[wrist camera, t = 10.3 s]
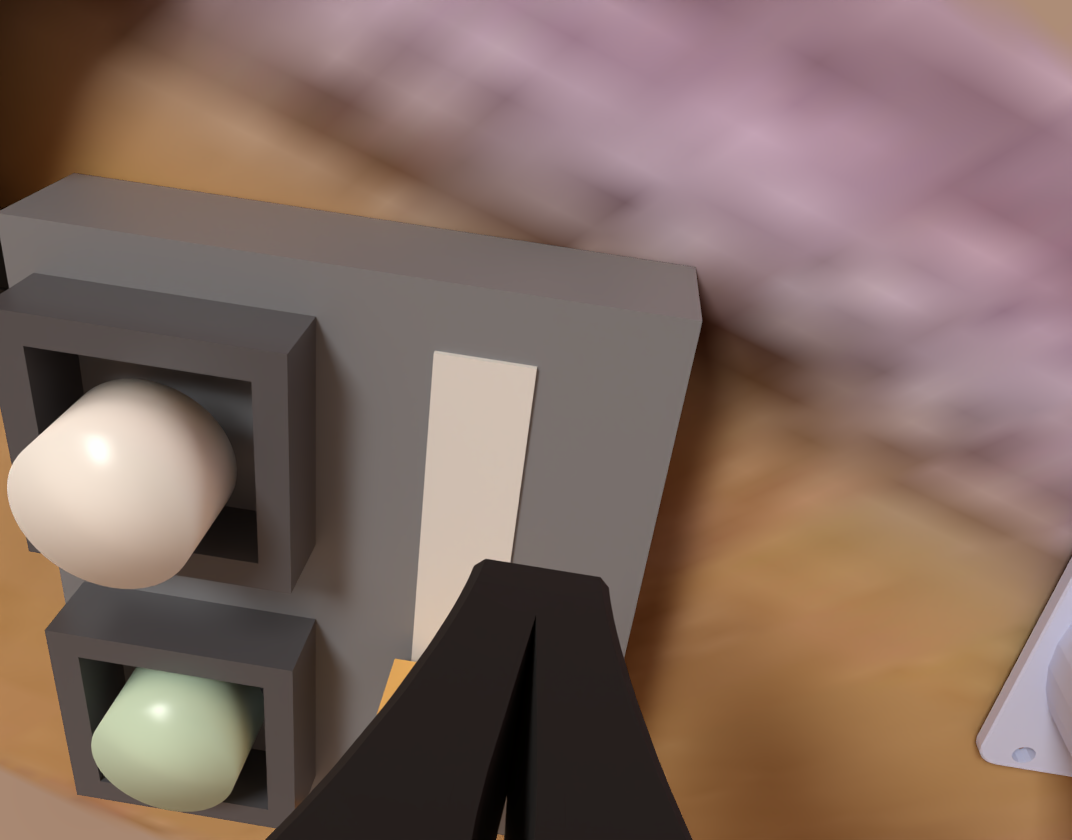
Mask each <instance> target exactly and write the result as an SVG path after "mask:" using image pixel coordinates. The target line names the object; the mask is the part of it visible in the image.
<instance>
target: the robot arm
mask: <svg viewBox="0 0 1072 840" xmlns="http://www.w3.org/2000/svg"><path fill="white" fill-rule="evenodd" d="M976 744H977V747H978V749H979V752H980V755H981V757H982V758H983V759H984V760H985V761H987V762H990V763H993V764H997V765H1003V766H1009V767H1015V768H1021V769H1028V770H1034V771H1040V772H1046V773H1052V774H1058V775H1064V776H1070V777H1072V557H1071V559H1070V561H1069V563H1068V565H1067V567H1066V569H1065V571H1064V573H1063V575H1062V576H1061V578H1060V580H1059V582H1058V584H1057V586H1056V588H1055V590H1054V592H1053V593H1052V595H1051V597H1050V599H1049V601H1048V603H1047V605H1046V607H1045V609H1044V610H1043V612H1042V614H1041V616H1040V618H1039V620H1038V622H1037V624H1036V626H1035V628H1034V629H1033V631H1032V633H1031V635H1030V637H1029V639H1028V641H1027V643H1026V645H1025V646H1024V648H1023V650H1022V652H1021V654H1020V656H1019V658H1018V660H1017V662H1016V664H1015V665H1014V667H1013V669H1012V671H1011V673H1010V675H1009V677H1008V679H1007V681H1006V682H1005V684H1004V686H1003V688H1002V690H1001V692H1000V694H999V696H998V698H997V700H996V701H995V703H994V705H993V707H992V709H991V711H990V713H989V715H988V717H987V718H986V720H985V722H984V724H983V726H982V728H981V730H980V732H979V734H978V735H977V739H976ZM1022 747H1024V748H1022ZM1019 748H1022V749H1019ZM506 798H507V802H506ZM505 802H506V818H505V835H504V840H692V838H691V835H690V833H689V831H688V829H687V826H686V824H685V822H684V819H683V817H682V815H681V812H680V810H679V808H678V806H677V803H676V801H675V799H674V796H673V794H672V792H671V789H670V787H669V784H668V782H667V780H666V777H665V775H664V772H663V770H662V767H661V765H660V762H659V760H658V757H657V754H656V752H655V749H654V746H653V743H652V741H651V738H650V735H649V732H648V730H647V727H646V724H645V721H644V719H643V716H642V713H641V710H640V708H639V705H638V702H637V699H636V696H635V693H634V690H633V687H632V684H631V680H630V677H629V674H628V670H627V667H626V663H625V660H624V657H623V653H622V650H621V646H620V642H619V638H618V634H617V630H616V626H615V621H614V617H613V611H612V606H611V600H610V592H609V587H608V586H607V585H606V583H605V582H604V581H603V580H602V578H601V577H597V576H590V575H584V574H578V573H572V572H565V571H559V570H553V569H547V568H541V567H534V566H528V565H522V564H516V563H510V562H503V561H497V560H491V559H484V560H483V561H481V562H479V563H477V564H476V565H474V567H473V569H472V571H471V574H470V576H469V578H468V580H467V582H466V584H465V586H464V588H463V590H462V592H461V594H460V596H459V597H458V599H457V601H456V603H455V604H454V606H453V608H452V609H451V611H450V613H449V614H448V616H447V618H446V619H445V621H444V622H443V624H442V625H441V627H440V628H439V630H438V632H437V633H436V635H435V636H434V638H433V639H432V641H431V642H430V644H429V645H428V647H427V648H426V650H425V651H424V652H423V654H422V655H421V656H420V658H419V659H418V661H417V662H416V663H415V665H414V666H413V667H412V669H411V670H410V672H409V673H408V674H407V676H406V677H405V678H404V680H403V681H402V683H401V684H400V685H399V687H398V688H397V689H396V691H395V692H394V694H393V695H392V696H391V698H390V699H389V700H388V701H387V703H386V704H385V705H384V707H383V708H382V709H381V710H380V712H379V713H378V714H377V715H376V716H375V718H374V719H373V720H372V721H371V722H370V724H369V725H368V726H367V727H366V728H365V730H364V731H363V732H362V733H361V734H360V736H359V737H358V738H357V739H356V740H355V742H354V743H353V744H352V745H351V746H350V748H349V749H348V750H347V751H346V752H345V754H344V755H343V756H342V757H341V758H340V760H339V761H338V762H337V763H336V764H335V766H334V767H333V768H332V769H331V770H330V771H329V772H328V774H327V775H326V776H325V777H324V778H323V779H322V780H321V781H320V782H319V784H318V785H317V786H316V787H315V788H314V789H313V790H312V791H311V792H310V794H309V795H308V796H307V797H306V798H305V799H304V800H303V801H302V802H301V803H300V804H299V805H298V806H297V808H296V809H295V810H294V811H293V812H292V813H291V814H290V815H289V816H288V817H287V818H286V819H285V820H284V821H283V822H282V823H281V824H280V825H279V826H278V827H277V828H276V829H275V830H274V831H273V832H272V833H271V834H270V835H269V836H268V837H267V838H266V840H496V838H497V834H498V830H499V826H500V822H501V818H502V814H503V810H504V806H505Z"/></svg>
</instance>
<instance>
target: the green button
mask: <svg viewBox="0 0 1072 840" xmlns="http://www.w3.org/2000/svg"><path fill="white" fill-rule="evenodd" d="M264 719H265V716H264V696H263V694H262V692H261V690H260V688H259V687H255V686H249V685H243V684H237V683H231V682H225V681H219V680H213V679H207V678H201V677H195V676H189V675H183V674H177V673H171V672H165V671H158V670H152V669H146V668H140V667H136V668H135V670H134V671H133V673H132V675H131V676H130V678H129V679H128V681H127V682H126V684H125V685H124V687H123V688H122V690H121V691H120V693H119V695H118V696H117V698H116V699H115V701H114V702H113V704H112V705H111V707H110V708H109V710H108V712H107V713H106V715H105V716H104V718H103V719H102V721H101V722H100V724H99V725H98V727H97V729H96V730H95V732H94V734H93V737H92V742H91V749H92V754H93V758H94V760H95V762H96V764H97V766H98V768H99V769H100V771H101V772H102V773H103V775H104V776H105V777H106V778H107V779H108V780H109V781H110V782H111V783H112V784H113V785H114V786H116V787H117V788H118V789H119V790H121V791H122V792H124V793H125V794H127V795H129V796H130V797H132V798H134V799H136V800H138V801H140V802H142V803H145V804H148V805H150V806H153V807H157V808H160V809H165V810H170V811H178V812H194V811H201V810H205V809H209V808H212V807H214V806H216V805H218V804H220V803H221V802H223V801H224V800H225V799H226V798H227V797H228V796H229V795H230V793H231V791H232V789H233V787H234V785H235V783H236V781H237V778H238V776H239V774H240V772H241V770H242V768H243V765H244V763H245V761H246V759H247V757H248V754H249V752H250V750H251V748H252V746H253V743H254V741H255V739H256V737H257V735H258V732H259V730H260V728H261V726H262V724H263V721H264Z"/></svg>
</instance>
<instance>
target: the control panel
mask: <svg viewBox="0 0 1072 840" xmlns="http://www.w3.org/2000/svg"><path fill="white" fill-rule="evenodd" d="M0 240H1V246H2V251H3V257H4V262H5V268H6V274H7V279H8V285H9V289H7V290H6V291H4V292H3V293H1V294H0V407H1V412H2V417H3V422H4V428H5V433H6V438H7V443H8V448H9V453H10V458H11V463H12V464H13V462H14V461H15V459H16V458H17V456H18V455H19V454H20V453H21V452H22V451H23V450H24V449H25V448H26V447H27V446H28V445H29V444H30V443H31V442H33V441H34V440H35V439H36V438H37V437H38V436H39V435H40V434H41V433H42V432H43V431H45V430H46V429H47V428H48V427H49V426H50V425H51V424H52V423H53V422H54V421H56V420H57V419H58V418H59V417H60V416H61V415H62V414H63V413H64V412H65V411H66V410H68V409H69V408H70V407H71V406H72V405H73V404H74V403H75V402H76V401H77V400H79V399H80V398H81V397H82V396H83V395H84V394H85V393H86V392H88V391H89V390H91V389H92V388H93V387H95V386H98V385H100V384H102V383H105V382H108V381H111V380H118V379H143V380H149V381H153V382H157V383H160V384H163V385H166V386H169V387H171V388H174V389H176V390H178V391H180V392H182V393H183V394H185V395H187V396H189V397H190V398H192V399H193V400H194V401H196V402H197V403H199V404H200V405H201V406H202V407H203V408H204V409H206V410H207V411H208V412H209V413H210V414H211V415H212V416H213V417H214V419H215V420H216V421H217V422H218V423H219V425H220V426H221V427H222V429H223V430H224V432H225V434H226V435H227V437H228V439H229V441H230V443H231V446H232V448H233V451H234V455H235V459H236V466H237V478H236V483H235V487H234V490H233V492H232V495H231V496H230V498H229V500H228V501H227V503H226V504H225V506H224V507H223V509H222V510H221V512H220V513H219V515H218V516H217V518H216V519H215V521H214V522H213V524H212V525H211V527H210V528H209V530H208V531H207V533H206V534H205V535H204V537H203V538H202V540H201V541H200V543H199V544H198V546H197V547H196V549H195V550H194V552H193V553H192V555H191V556H190V558H189V559H188V561H187V562H186V564H185V565H184V566H183V567H182V569H181V570H180V571H179V572H178V573H177V574H175V575H174V576H173V577H172V578H170V579H168V580H166V581H165V582H162V583H160V584H157V585H155V586H150V587H146V588H139V589H119V588H111V587H106V586H101V585H98V584H94V583H91V582H88V581H86V580H83V579H81V578H78V577H76V576H74V575H72V574H70V573H68V572H66V571H65V570H63V569H62V568H60V567H59V569H60V574H61V580H62V586H63V591H64V597H65V602H66V604H65V606H64V607H63V608H62V609H61V611H60V612H59V613H58V614H57V616H56V617H55V618H54V619H53V621H52V622H51V623H50V624H49V626H48V627H47V628H46V629H45V634H46V639H47V644H48V649H49V654H50V659H51V664H52V669H53V674H54V680H55V685H56V690H57V695H58V700H59V705H60V710H61V715H62V720H63V725H64V730H65V735H66V740H67V745H68V750H69V755H70V760H71V765H72V770H73V775H74V780H75V785H76V790H77V795H83V796H89V797H95V798H101V799H106V800H112V801H118V802H124V803H130V804H136V805H142V806H148V807H153V806H150V805H148V804H145V803H142V802H140V801H138V800H136V799H134V798H132V797H130V796H129V795H127V794H125V793H124V792H122V791H121V790H119V789H118V788H117V787H116V786H114V785H113V784H112V783H111V782H110V781H109V780H108V779H107V778H106V777H105V776H104V775H103V773H102V772H101V771H100V769H99V768H98V766H97V764H96V762H95V760H94V758H93V754H92V749H91V742H92V737H93V734H94V732H95V730H96V729H97V727H98V725H99V724H100V722H101V721H102V719H103V718H104V716H105V715H106V713H107V712H108V710H109V708H110V707H111V705H112V704H113V702H114V701H115V699H116V698H117V696H118V695H119V693H120V691H121V690H122V688H123V687H124V685H125V684H126V682H127V681H128V679H129V678H130V676H131V675H132V673H133V671H134V670H135V668H136V667H140V668H146V669H152V670H158V671H165V672H171V673H177V674H183V675H189V676H195V677H201V678H207V679H213V680H219V681H225V682H231V683H237V684H243V685H249V686H255V687H259V688H260V690H261V692H262V694H263V696H264V716H265V719H264V721H263V724H262V726H261V728H260V730H259V732H258V735H257V737H256V739H255V741H254V743H253V746H252V748H251V750H250V752H249V754H248V757H247V759H246V761H245V763H244V765H243V768H242V770H241V772H240V774H239V776H238V778H237V781H236V783H235V785H234V787H233V789H232V791H231V793H230V795H229V796H228V797H227V798H226V799H225V800H224V801H223V802H221V803H220V804H218V805H216V806H214V807H212V808H209V809H205V810H201V811H194V812H183V813H189V814H195V815H201V816H207V817H213V818H218V819H224V820H230V821H236V822H242V823H248V824H254V825H260V826H266V827H271V828H277V827H278V826H279V825H280V824H281V823H282V822H283V821H284V820H285V819H286V818H287V817H288V816H289V815H290V814H291V813H292V812H293V811H294V810H295V809H296V808H297V806H298V805H299V804H300V803H301V802H302V801H303V800H304V799H305V798H306V797H307V796H308V795H309V794H310V792H311V791H312V790H313V789H314V788H315V787H316V786H317V785H318V784H319V782H320V781H321V780H322V779H323V778H324V777H325V776H326V775H327V774H328V772H329V771H330V770H331V769H332V768H333V767H334V766H335V764H336V763H337V762H338V761H339V760H340V758H341V757H342V756H343V755H344V754H345V752H346V751H347V750H348V749H349V748H350V746H351V745H352V744H353V743H354V742H355V740H356V739H357V738H358V737H359V736H360V734H361V733H362V732H363V731H364V730H365V728H366V727H367V726H368V725H369V724H370V722H371V721H372V720H373V719H374V718H375V716H376V715H377V712H378V709H379V706H380V703H381V700H382V697H383V693H384V690H385V687H386V684H387V681H388V678H389V675H390V672H391V669H392V666H393V662H394V659H401V660H407V661H413V662H417V661H418V659H419V658H420V656H421V655H422V654H423V652H424V651H425V650H426V648H427V647H428V645H429V644H430V642H431V641H432V639H433V638H434V636H435V635H436V633H437V632H438V630H439V628H440V627H441V625H442V624H443V622H444V621H445V619H446V618H447V616H448V614H449V613H450V611H451V609H452V608H453V606H454V604H455V603H456V601H457V599H458V597H459V596H460V594H461V592H462V590H463V588H464V586H465V584H466V582H467V580H468V578H469V576H470V574H471V571H472V569H473V567H474V565H476V564H477V563H479V562H481V561H483V560H484V559H491V560H497V561H503V562H510V563H516V564H522V565H528V566H534V567H541V568H547V569H553V570H559V571H565V572H572V573H578V574H584V575H590V576H597V577H601V578H602V580H603V581H604V582H605V583H606V585H607V586H608V587H609V592H610V600H611V606H612V611H613V617H614V621H615V626H616V630H617V634H618V638H619V642H620V646H621V650H622V653H623V657H625V652H626V648H627V644H628V639H629V635H630V631H631V627H632V622H633V618H634V614H635V609H636V605H637V601H638V596H639V592H640V588H641V584H642V579H643V575H644V571H645V566H646V562H647V558H648V553H649V549H650V545H651V540H652V536H653V532H654V528H655V523H656V519H657V515H658V510H659V506H660V502H661V497H662V493H663V489H664V484H665V480H666V476H667V472H668V467H669V463H670V459H671V454H672V450H673V446H674V441H675V437H676V433H677V428H678V424H679V420H680V416H681V411H682V407H683V403H684V398H685V394H686V390H687V385H688V381H689V377H690V372H691V368H692V364H693V360H694V355H695V351H696V347H697V342H698V338H699V334H700V329H701V325H702V314H701V306H700V299H699V291H698V283H697V276H696V268H695V267H691V266H684V265H677V264H671V263H664V262H658V261H651V260H645V259H638V258H631V257H625V256H618V255H612V254H605V253H598V252H592V251H585V250H579V249H572V248H565V247H559V246H552V245H546V244H539V243H532V242H526V241H519V240H513V239H506V238H499V237H493V236H486V235H480V234H473V233H467V232H460V231H453V230H447V229H440V228H434V227H427V226H420V225H414V224H407V223H401V222H394V221H387V220H381V219H374V218H368V217H361V216H354V215H348V214H341V213H335V212H328V211H321V210H315V209H308V208H302V207H295V206H289V205H282V204H275V203H269V202H262V201H256V200H249V199H242V198H236V197H229V196H223V195H216V194H209V193H203V192H196V191H190V190H183V189H176V188H170V187H163V186H157V185H150V184H144V183H137V182H130V181H124V180H117V179H111V178H104V177H97V176H91V175H84V174H78V173H73V174H71V175H69V176H67V177H65V178H63V179H61V180H59V181H57V182H55V183H53V184H51V185H49V186H47V187H45V188H43V189H41V190H39V191H38V192H36V193H34V194H32V195H30V196H28V197H26V198H24V199H22V200H20V201H18V202H16V203H14V204H12V205H10V206H8V207H6V208H4V209H2V210H0ZM26 538H27V537H26ZM27 543H28V548H29V551H30V552H37V553H41V552H39V551H38V550H37V549H36V548H35V547H34V546H33V544H32V543H31V542H30V541H29V540H28V539H27ZM506 802H507V798H506ZM506 802H505V806H504V810H503V814H502V818H501V822H500V826H499V830H498V834H500V835H505V818H506ZM154 808H157V807H154ZM177 812H178V811H177Z"/></svg>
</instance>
